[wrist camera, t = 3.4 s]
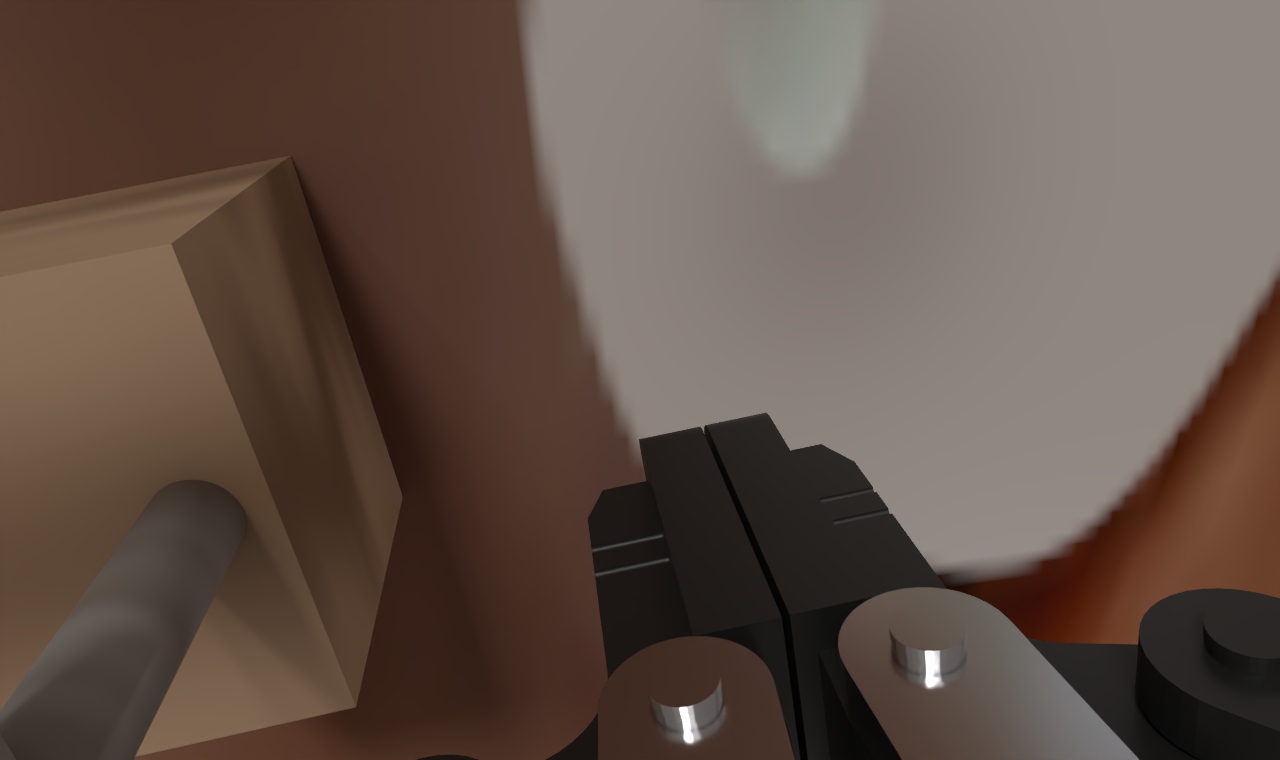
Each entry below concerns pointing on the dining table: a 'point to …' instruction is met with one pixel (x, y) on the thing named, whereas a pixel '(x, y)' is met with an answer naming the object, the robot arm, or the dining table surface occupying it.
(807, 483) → the robot arm
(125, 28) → the dining table surface
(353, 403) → the tan block
